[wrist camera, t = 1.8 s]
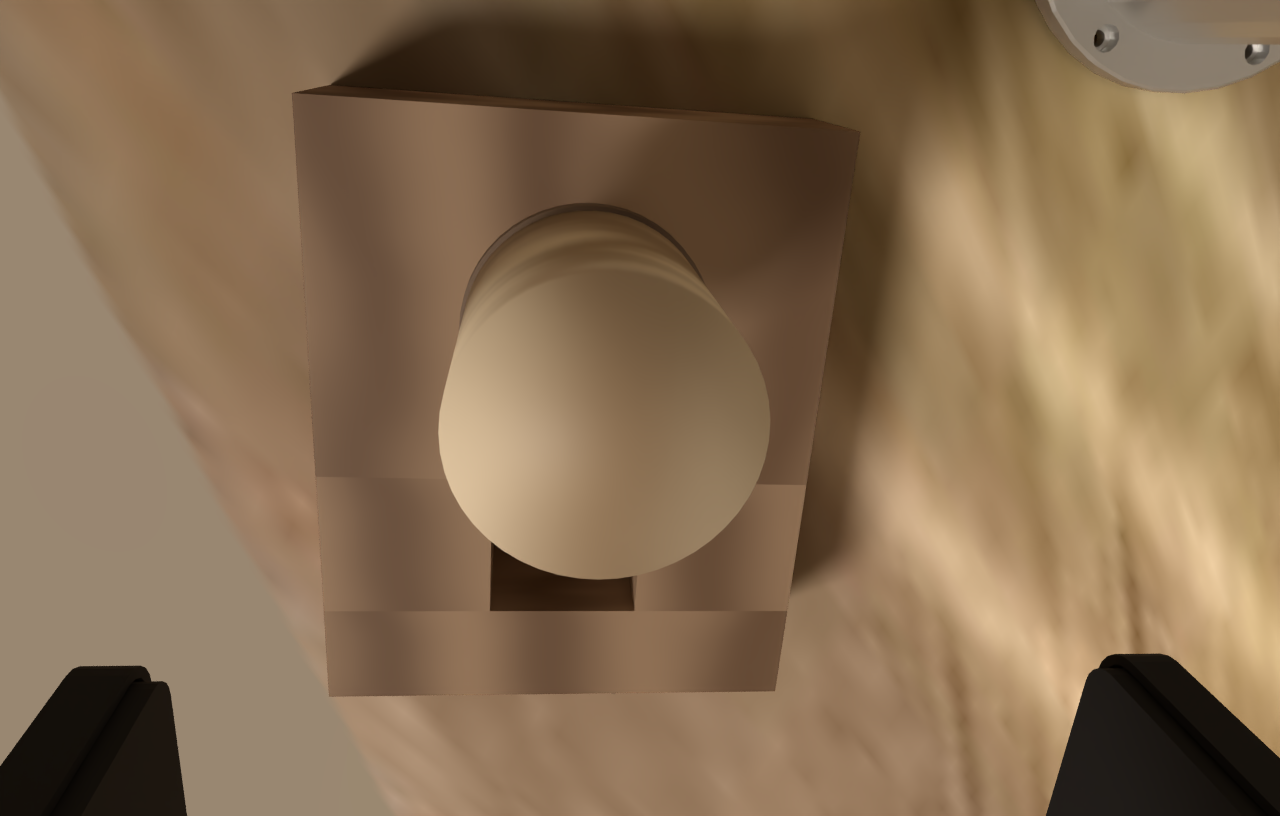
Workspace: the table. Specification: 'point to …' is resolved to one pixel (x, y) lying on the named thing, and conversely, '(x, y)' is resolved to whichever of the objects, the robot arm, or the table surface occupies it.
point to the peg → (598, 398)
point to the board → (423, 350)
